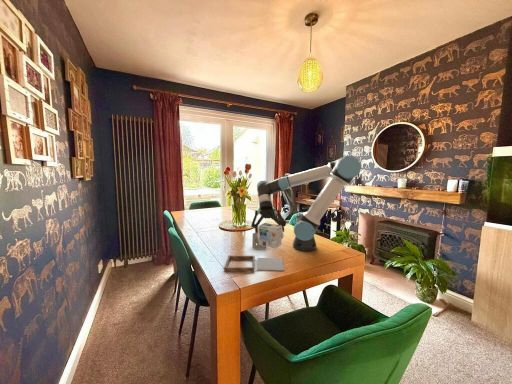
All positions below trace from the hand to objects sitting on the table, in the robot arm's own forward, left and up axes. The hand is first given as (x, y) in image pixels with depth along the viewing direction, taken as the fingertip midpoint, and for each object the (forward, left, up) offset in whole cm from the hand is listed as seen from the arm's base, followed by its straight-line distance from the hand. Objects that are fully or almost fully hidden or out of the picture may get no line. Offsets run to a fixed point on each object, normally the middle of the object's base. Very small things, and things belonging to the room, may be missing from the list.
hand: (270, 238), depth 111 cm
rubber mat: (0, -2, -16) cm, 16 cm away
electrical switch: (+6, -28, -16) cm, 33 cm away
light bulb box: (0, -2, -5) cm, 5 cm away
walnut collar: (+16, -1, -16) cm, 23 cm away
